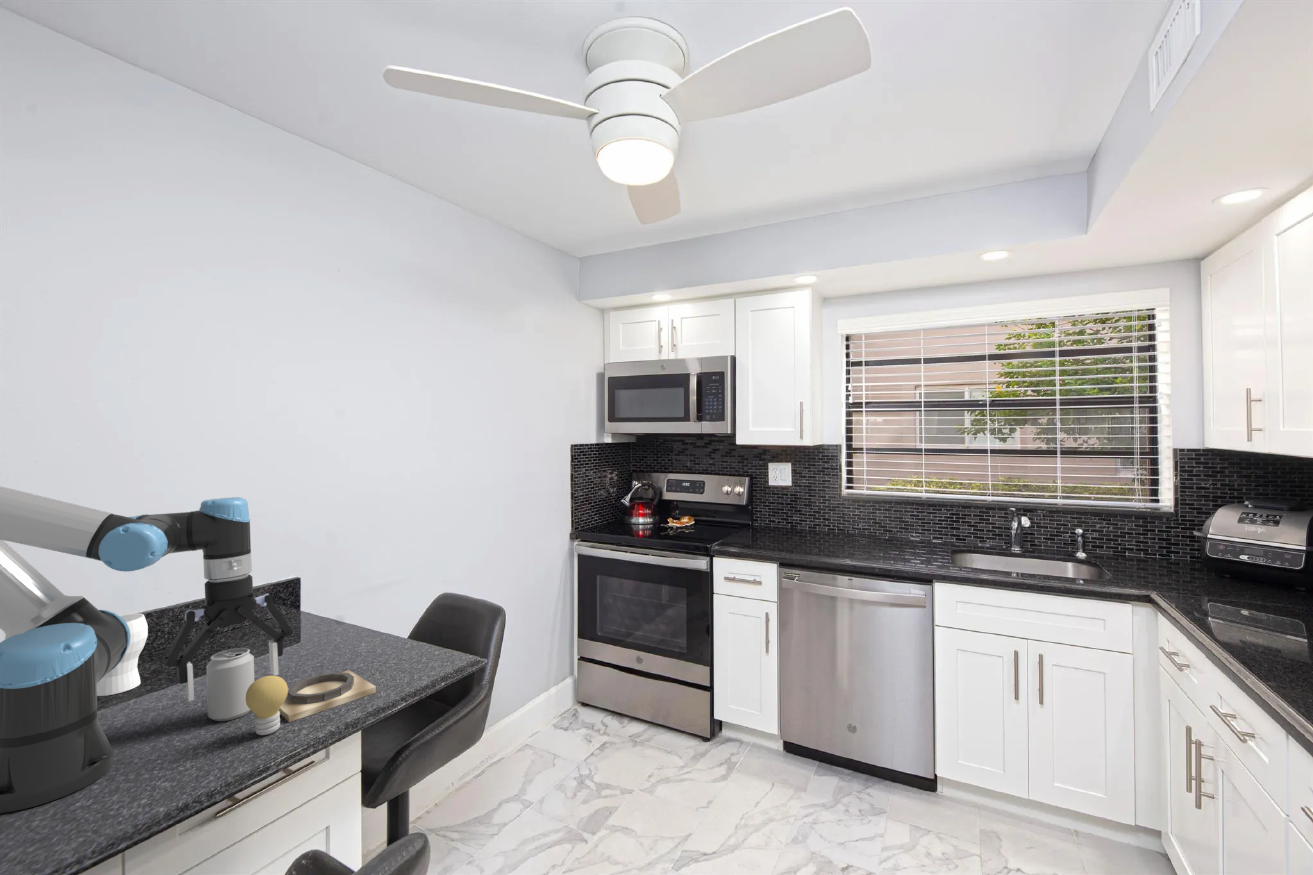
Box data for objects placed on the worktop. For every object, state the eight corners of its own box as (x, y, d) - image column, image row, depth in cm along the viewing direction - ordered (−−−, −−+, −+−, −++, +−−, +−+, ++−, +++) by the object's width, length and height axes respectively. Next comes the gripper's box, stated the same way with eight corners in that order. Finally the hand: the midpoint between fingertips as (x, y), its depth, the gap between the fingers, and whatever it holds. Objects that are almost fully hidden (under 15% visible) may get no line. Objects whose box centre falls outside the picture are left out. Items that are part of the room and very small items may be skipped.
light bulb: (256, 744, 101) (255, 687, 101) (239, 735, 104) (238, 680, 104) (295, 728, 106) (294, 674, 106) (278, 720, 109) (277, 667, 109)
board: (289, 722, 108) (288, 707, 108) (266, 701, 118) (265, 687, 118) (376, 692, 121) (375, 679, 121) (349, 675, 130) (348, 663, 130)
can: (230, 724, 108) (228, 660, 108) (197, 721, 110) (195, 658, 110) (264, 706, 115) (263, 646, 115) (233, 703, 117) (232, 644, 117)
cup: (152, 687, 126) (150, 618, 126) (83, 704, 118) (81, 631, 118) (146, 674, 133) (144, 609, 133) (81, 690, 126) (79, 621, 125)
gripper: (147, 595, 101) (153, 716, 101) (306, 566, 119) (311, 668, 120) (140, 589, 106) (146, 704, 106) (294, 562, 124) (299, 660, 125)
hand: (234, 685), depth 113 cm, fingers open, 13 cm apart
